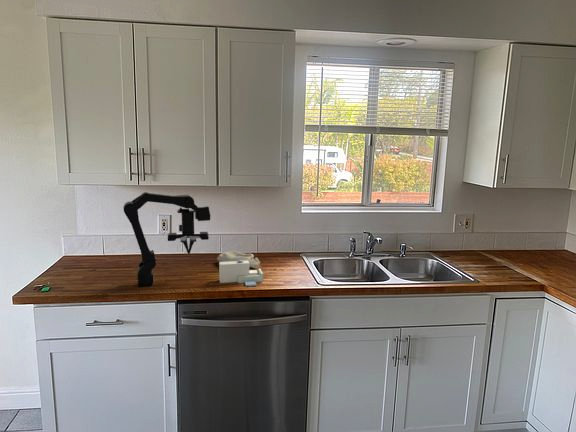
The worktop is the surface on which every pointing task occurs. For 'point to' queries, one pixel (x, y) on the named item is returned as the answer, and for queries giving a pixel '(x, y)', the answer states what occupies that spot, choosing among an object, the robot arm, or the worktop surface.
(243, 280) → the cradle
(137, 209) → the robot arm
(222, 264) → the white stepped block
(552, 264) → the worktop surface
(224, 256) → the sculpture
